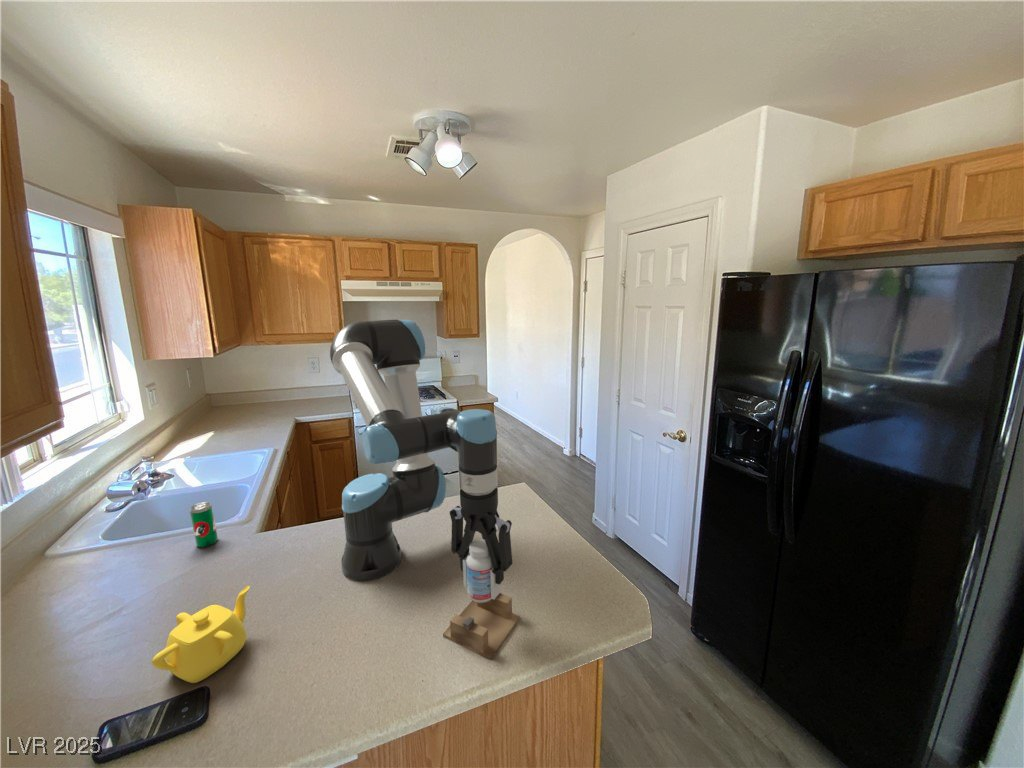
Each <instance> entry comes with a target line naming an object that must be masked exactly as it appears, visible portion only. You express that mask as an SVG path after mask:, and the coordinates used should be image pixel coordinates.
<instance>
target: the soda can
mask: <svg viewBox="0 0 1024 768" xmlns="http://www.w3.org/2000/svg"><path fill="white" fill-rule="evenodd" d="M189 514H190V519H191V526H192V529H193V530H192V531H193V534H194V540H195V544H196V545H195V546H196V547H199V548H207V547H210V546H212V545H213V544H215V543H217V541H218V539H219V537H218V532H217V527H216V521H215V516H214V515H215V514H214V511H213V505H212V504H211V503H210V502H209V501H204V502H203V501H202V502H199V503H196V504H193V505H191V508H190V511H189Z"/></svg>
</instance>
